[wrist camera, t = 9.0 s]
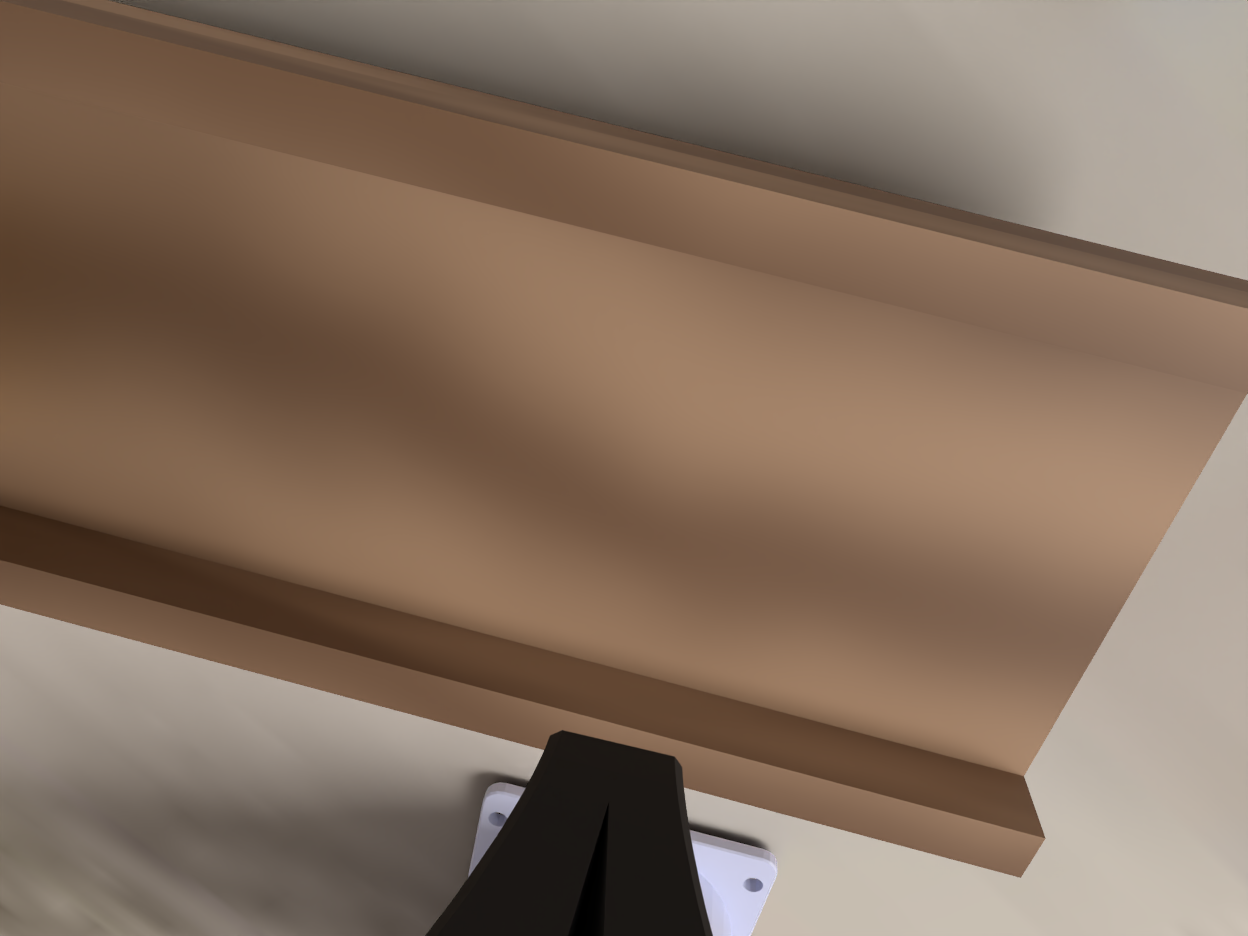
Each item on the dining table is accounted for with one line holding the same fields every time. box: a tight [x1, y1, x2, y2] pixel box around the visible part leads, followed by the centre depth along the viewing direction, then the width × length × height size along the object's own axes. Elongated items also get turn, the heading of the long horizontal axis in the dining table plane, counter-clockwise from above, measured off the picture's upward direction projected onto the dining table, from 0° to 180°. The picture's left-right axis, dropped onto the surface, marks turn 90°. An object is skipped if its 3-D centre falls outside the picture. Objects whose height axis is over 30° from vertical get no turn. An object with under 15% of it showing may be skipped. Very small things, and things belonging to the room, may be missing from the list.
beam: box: [0, 0, 1248, 878], centre depth 15 cm, size 10×28×3 cm, turn 78°
